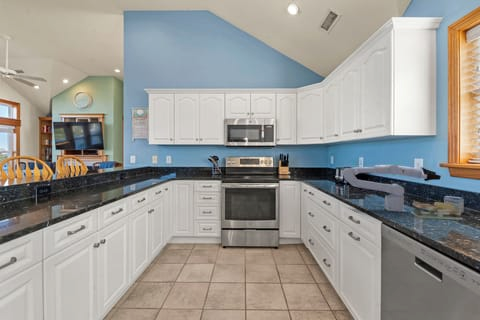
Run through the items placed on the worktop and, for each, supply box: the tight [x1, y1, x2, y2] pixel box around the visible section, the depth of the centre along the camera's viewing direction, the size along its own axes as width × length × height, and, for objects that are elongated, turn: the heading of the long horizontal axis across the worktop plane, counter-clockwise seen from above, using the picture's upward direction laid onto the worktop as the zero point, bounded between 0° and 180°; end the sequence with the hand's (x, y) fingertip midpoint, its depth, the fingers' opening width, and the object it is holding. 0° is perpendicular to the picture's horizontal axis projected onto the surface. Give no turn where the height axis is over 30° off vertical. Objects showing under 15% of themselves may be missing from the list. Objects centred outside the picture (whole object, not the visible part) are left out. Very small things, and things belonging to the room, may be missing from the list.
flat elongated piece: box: [412, 201, 462, 216], centre depth 135 cm, size 19×9×2 cm, turn 74°
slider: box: [433, 201, 452, 210], centre depth 134 cm, size 6×5×3 cm
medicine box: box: [443, 195, 465, 214], centre depth 145 cm, size 8×4×9 cm, turn 27°
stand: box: [410, 208, 464, 221], centre depth 135 cm, size 20×11×5 cm, turn 73°
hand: (437, 175), depth 143 cm, fingers open, 7 cm apart
